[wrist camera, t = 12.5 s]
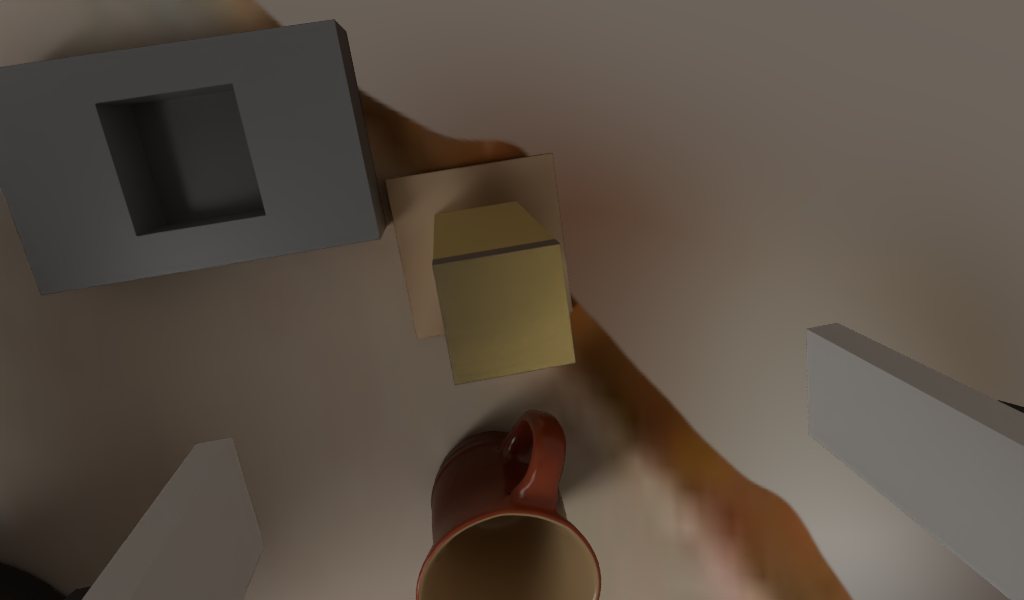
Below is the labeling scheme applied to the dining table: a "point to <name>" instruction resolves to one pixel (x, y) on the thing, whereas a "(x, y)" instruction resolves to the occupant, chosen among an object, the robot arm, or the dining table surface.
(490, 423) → the dining table surface
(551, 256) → the plug
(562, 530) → the mug
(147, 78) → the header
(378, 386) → the dining table surface
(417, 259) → the pad
